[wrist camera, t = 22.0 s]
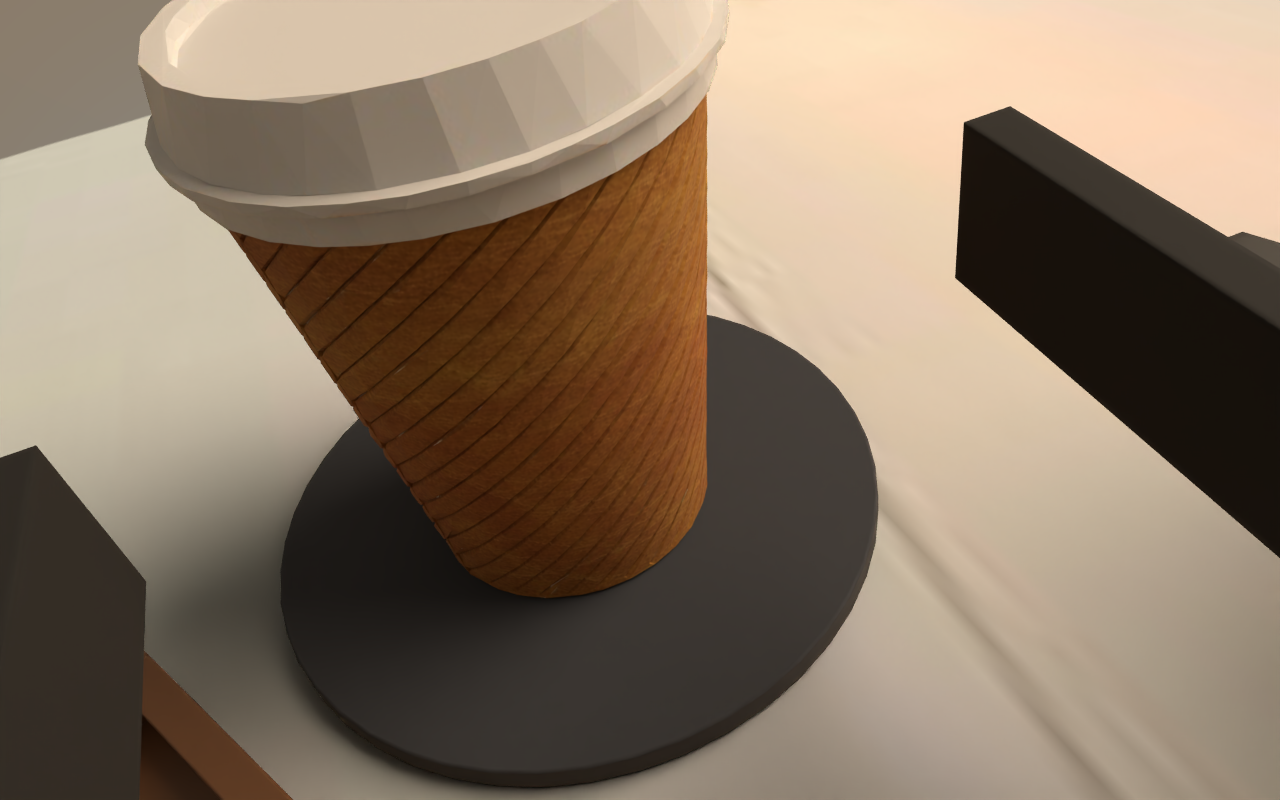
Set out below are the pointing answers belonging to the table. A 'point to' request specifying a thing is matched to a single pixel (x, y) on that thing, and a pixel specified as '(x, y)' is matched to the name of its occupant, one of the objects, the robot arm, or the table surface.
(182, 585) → the table surface
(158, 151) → the disposable coffee cup
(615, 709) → the coaster
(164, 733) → the tray
